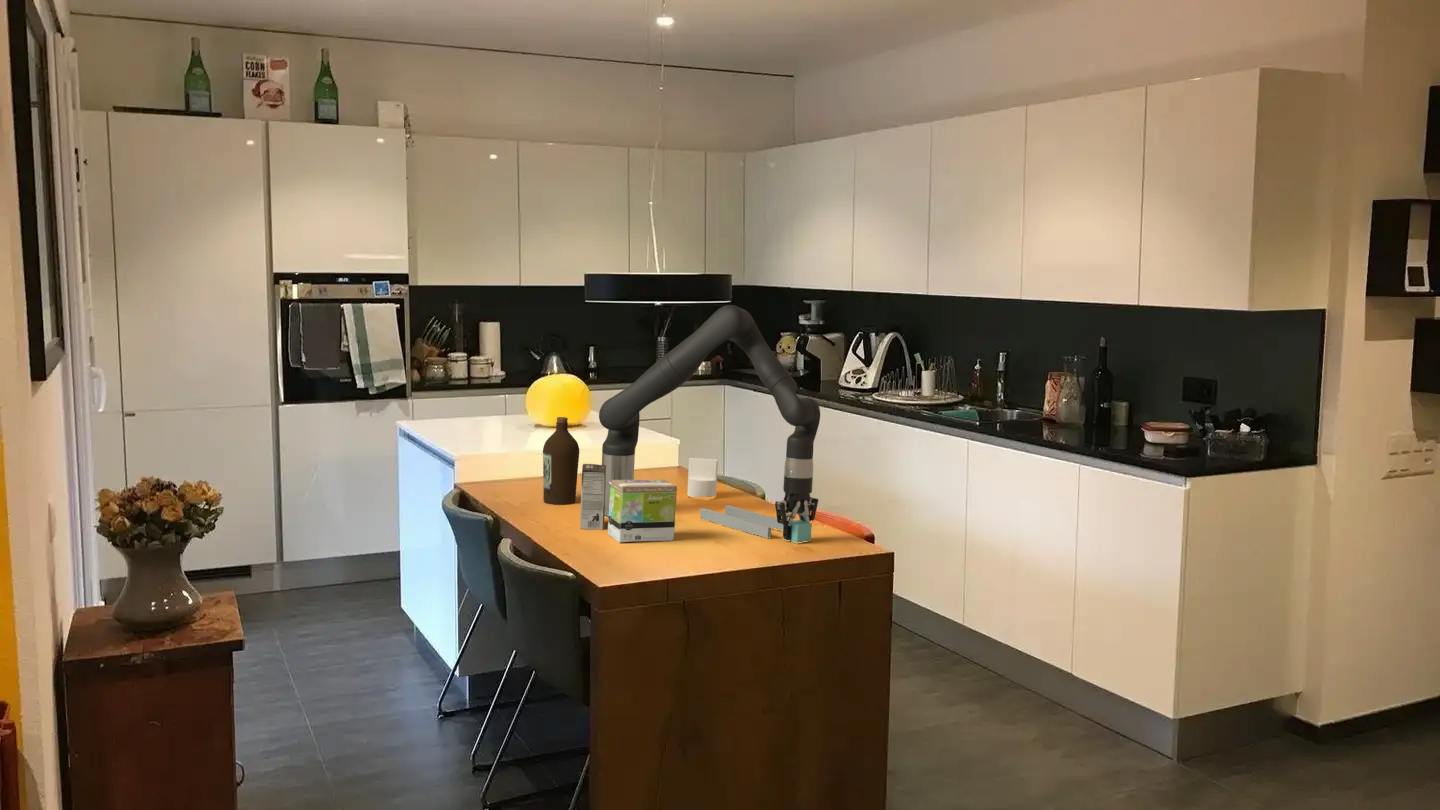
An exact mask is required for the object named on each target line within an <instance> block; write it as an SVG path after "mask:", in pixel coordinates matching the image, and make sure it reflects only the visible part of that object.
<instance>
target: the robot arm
mask: <svg viewBox="0 0 1440 810" xmlns="http://www.w3.org/2000/svg"><path fill="white" fill-rule="evenodd" d="M752 316H753V315H751V313H750V312H749V311H748V310H746V309H744V308H741V307H739V306H737V305H733V304H727V305H723V306H721V307H720V308H718V309H717V310H716V311H715V312H714V313H712V315H711V316H709V317H708V319H706V321H704V323H702V324H701V325H700V327H698V328H697V329H696V330H695V331H694V332H693V333H691V334H690V335H689V336H688V337H686V338H685V339H683V341H681V342H680V343H678V345H676V346H675V347H674V348H672V349H671V350H669V351H668V352H667V353H666V354H665V355H663V356H662V357H661V358H660V359H659V360H657V361H656V362H655V363H654V364H652V366H651V367H649V368H648V369H647V370H646V371H645V372H643V374H641V375H640V376H639V377H638V378H637V379H636V380H635V381H634V382H633V383H631V384H630V385H629V386H627V387H626V388H624V389H623V390H621V391H620V392H619V393H616V394H615V395H613V396H612V397H610V398H608V399H606V400H605V402H603V403H602V405H601V407H600V409H599V412H598V419H599V422H600V424H601V426H602V427H603V428H605V429H606V430H607V434H606V435H607V436H606V438H605V439H604V441H603V443H602V450H601V451H602V452H601V465H606V489H605V514H604V516H605V517H609V502H610V486H611V480H635V462H636V461H635V460H636V458H635V457H636V447H637V445H638V442H639V431H640V430H639V429H640V414H641V413H640V412H641V411H642V410H644V409H645V408H646V407H647V406H648V405H650V404H652V403H653V402H656V401H658V400H659V399H662V398H663V397H665V396H667V395H668V394H670V393H672V392H673V391H675V390H677V389H678V388H679V387H681V386H683V384H685V383H686V382H688V381H689V380H690V379H691V378H692V377H693V376H694V375H695V374H696V373H697V371H698V370H699V369H700V367H701V365H702V363H703V362H704V360H705V359H706V358H707V356H708V355H709V354H710V353H712V351H714V350H715V349H716V348H717V347H719V346H720V345H722V344H723V343H725V342H726V341H728V340H729V341H730V342H734V343H735V344H736V345H737V346H738V347H739V348H740V349H741V350H742V351H743V352H744V353H745V354H746V355H747V357H748V358H749V359H750V361H751V363H752V365H753V367H754V370H755V371H756V374H757V376H758V377H759V379H760V381H761V383H762V384H763V385H764V386H765V387H766V389H767V391H768V392H769V393H770V394H771V396H772V397H773V398H774V401H775V404H776V406H777V408H778V410H779V412H780V415H781V417H782V418H783V419H784V420H785V421H786V423H788V424H789V425H791V426H793V427H795V428H794V432H793V433H792V434H789V436H787V440H786V450H785V451H786V452H785V462H784V472H783V487H782V488H783V489H782V490H783V492H784V497H783V500H781V501H779V500H778V501H775V503H774V505H775V506H774V507H775V513H776V518H777V522H778V523H781V524H783V532H782V536H783V540H784V539H786V540H791V534H792V526H791V525H792V522H793V520H794V519H795V518H796V517H797V516H798V518H799V519H798V520H801V521H805V522H809V523H811V522H813V521H814V520H815V519H816V518H815V517H816V513H817V509H818V505H819V498H816V497H812V496H811V495H810V494H812V492H813V481H814V480H813V479H814V445H815V444H814V442H815V439H816V436H817V432H818V428H819V425H820V421H821V420H820V419H821V408H820V405H819V404H818V402H817V401H816V400H815V399H813V398H810V397H805V398H803V397H802V398H800V397H799V396H798V395H797V393H796V391H797V388H798V385H797V382H796V380H795V379H794V378H793V377H792V375H791V374H790V372H789V371H788V370H787V369H786V368H785V366H784V365H783V364H782V363H781V361H780V360H779V359H778V358H777V357H776V355H775V353H774V352H773V351H772V350H771V348H770V347H769V345H768V344H767V342H766V340H765V338H764V336H763V335H762V333H761V331H760V330H759V328H758V325H757V324H756V321H755V320H754V318H753V317H752Z"/></svg>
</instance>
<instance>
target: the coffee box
mask: <svg viewBox="0 0 1440 810" xmlns="http://www.w3.org/2000/svg"><path fill="white" fill-rule="evenodd" d="M581 469H582V470H581V487H580V517H579V518H580V525H579V526H580V527H579V529H580V530H596V531H597V530H600V531H601V530H602V531H603V530H604V526H605V515H604V514H605V489H606V465H602V464H596V463H583V464H582V467H581Z"/></svg>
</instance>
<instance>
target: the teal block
mask: <svg viewBox="0 0 1440 810" xmlns="http://www.w3.org/2000/svg"><path fill="white" fill-rule="evenodd" d="M791 526H792V534H791V540H790V541H793V542H797V543H798V542H803V541H809V540H812V526H813V525H812V522H805V521H801V520H800V519H795V520H794V519H793V522H792V525H791Z"/></svg>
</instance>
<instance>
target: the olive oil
mask: <svg viewBox="0 0 1440 810" xmlns="http://www.w3.org/2000/svg"><path fill="white" fill-rule="evenodd" d="M555 427H556V428H555V431H553V433H552V434H551V435H550V436H549V437H548V438H547V440H545V442H544V445H543V448H542V469H543V471H542V473H543V479H542V481H543V484H542V485H543V486H542V487H543V503H546V504H548V505H549V504H550V505H562V506H565V505H572V504H575V503H576V500H577V485H578V483H577V482H578V471H579V461H580V460H579V458H580V447H579V443H578V441H577V440H576V439H575V438H574V437H573V435H572V434H571V433H570V432H569V429H568V428H569V422H568V417H566V416H559V417H558V416H557V417H556V426H555Z"/></svg>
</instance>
